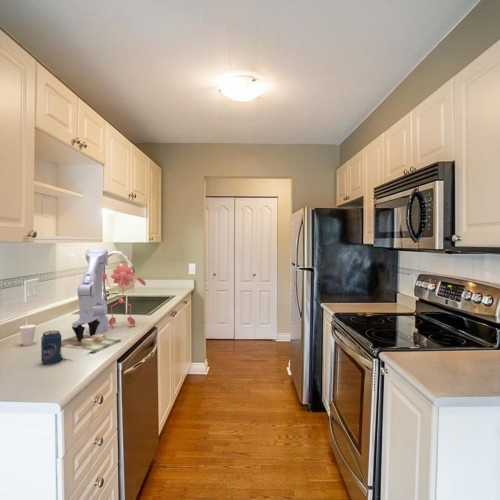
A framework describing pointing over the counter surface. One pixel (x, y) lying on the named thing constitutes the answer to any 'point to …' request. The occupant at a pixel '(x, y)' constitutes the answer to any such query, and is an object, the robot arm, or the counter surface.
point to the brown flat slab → (95, 347)
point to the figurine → (123, 277)
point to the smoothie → (27, 334)
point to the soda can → (51, 347)
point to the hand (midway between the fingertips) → (86, 338)
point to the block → (92, 340)
